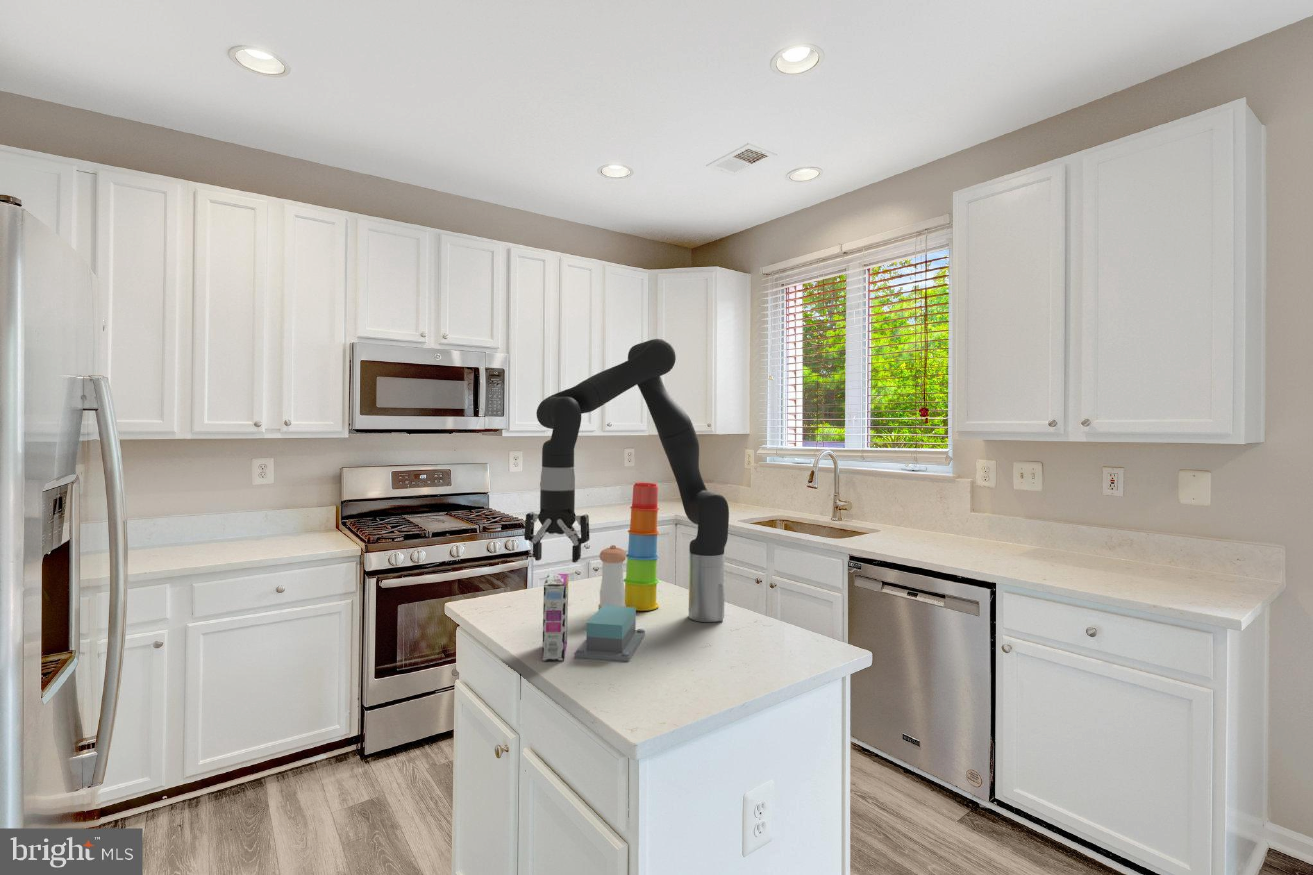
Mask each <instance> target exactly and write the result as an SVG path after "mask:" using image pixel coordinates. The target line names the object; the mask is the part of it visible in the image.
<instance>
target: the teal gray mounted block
mask: <svg viewBox="0 0 1313 875" xmlns="http://www.w3.org/2000/svg"><path fill="white" fill-rule="evenodd" d="M636 616H637V613H636V608H635V607H619V606H602V607H601V608H600V609H599V611H598V610H597V612H595V613H594V614H593V615H592V617H591V618H589V620H588V621H587V622H586V630H585V631H586V638H585V640H584V642H582V644H580V646H579V647H578V648H577V649H576V651H575V652H574V658H580V659H590V660H605V661H616V662H630V661H631V659H632V658H633V656H634V654H635V652H636V650H637V649H638V647H639V646H640V644H641V643H642V641H643V640H644V637H645V636H646V630H645V629H643V628H636V627H637V626H636V624H637V623H636V620H637V618H636Z"/></svg>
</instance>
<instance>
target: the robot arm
mask: <svg viewBox="0 0 1313 875" xmlns="http://www.w3.org/2000/svg"><path fill="white" fill-rule="evenodd" d="M676 356H677V355H676V352H675V348H674V347H673V346H672V344H671V343H670V342H669V341H668V340H665V339H663V338H653V339H650V340H647V341H643V342H640V343H636V344H635V345H633V346H632V347H630V348H629V350H628V354H627V360H626V361H624V362H621V363H619V364H617V365H615V366H613V367H610V368H607V369H604V370H602V371H600V372H598V373H596V374H594V375H592V376H590V377H588V378H586V379H584V380H583V381H581V382H579V383H578V384H576V385H574V386H573V387H570V388H569V387H568V388H566V389H564V390H561V391H559V392H556V393H554V394H551V395H549V396H548V397H546V398H544V399H543V400H542V401H541V402H540V403H539V404H538V407H537V408H536V419H537V421H538V423H539V424H540V425H541V426H542V427H544V428H546V429H549V430H552V431H551V432H552V433H551V435H550V436H551V437H550V439H549V440H546V441H545V442H543V443H542V444H543V445H542V448H541V449H542V450H541V471H540V482H539V488H540V489H539V494H540V495H539V500H540V501H539V509H540V510H539V513H535V512H533V511H531V512H528V513H526V514H525V521H524V522H525V525H524V540H525V541H528V542H531V543H532V558H533V559H534V560H535V561H536V562H538V561H541V560H542V552H543V551H542V550H543V549H542V546H543V545H542V544H543V542H541V541H542V539H544V537H545V536H546V534H547V535H548V534H550V535H553V534H557V535H564V534H565V535H566V537H567V538H568V539H569V540H570V541H571V542H572V549H571V551H572V553H571V557H572V558H571V559H572V560H571V563H577V562H579V560H580V559H581V556H582V544H585V543H587V542H589V541H590V520H589V518H590V515H588V514H583V515H577V514H576V512H575V504H576V502H575V500H576V498H575V497H576V496H575V495H576V492H575V491H576V475H575V448H576V444H577V440H578V436H579V432H580V428H581V425H582V423H581V422H582V414H589V413H591V412H594V411H596V410H597V409H599V408H600V407H603V405H605V404H607V403H609V402H610V401H612V400H613V399H615V398H617V397H618V396H620V395H621V394H623V393H625V392H627V391H628V390H631V388H633V387H635V386H637V387H638V390H639V391H640V393H641V396H642V397H643V399H644V401H645V404H646V406H647V409H648V411H649V413H650V416H651V418H652V420H653V423H654V426H655V428H656V431H657V435H658V437H659V440H660V443H661V446H662V448H663V450H664V453H665V456H666V457H667V460H668V462H669V466H670V468H671V471H672V473H673V476H674V478H675V481H676V484H677V487H678V492H679V495H680V500H681V502H682V506H683V510H684V512H685V516H686V517H687V519H688V520H689V521H690V522H691V523H693V524H694V525H696V526H697V533H696V534H697V535H696V537H695V538H694V539H692V540H691V541H690V542H689V546H688V547H689V549H688V550H689V552H688V553H689V554H688V555H689V556H688V562H689V564H688V566H689V567H688V568H689V569H688V618H689V619H690V620H693V621H695V622H701V623H716V622H723V621H724V619H725V596H726V594H725V592H726V591H725V590H726V589H725V588H726V587H725V586H726V585H725V584H726V582H725V580H726V579H725V550H726V549H725V547H726V545H727V543H728V538H729V525H730V524H729V521H730V510H729V504H728V501H727V499H726V498H725V496H723V495H722V494H721V493H717V492H712V491H708V489H707V487H706V485H705V482H704V480H703V478H702V475H701V472H700V464H699V462H700V443H699V439H698V436H697V433H696V430H695V427H694V424H693V422H692V420H691V418H690V417H689V415H688V413H686V411H685V410H684V409H683V407H681V406H680V404H678V403H677V401H675V400H674V398H673V397H672V396H671V395H670V394H669V392H668V391H667V389H666V386H665V385H664V382H663V380H662V377H663V375H666V374H668V373H669V372H670V371H671V370H673V368H674V367H675V364H676V358H677V357H676ZM661 376H662V377H661ZM537 521H539V522H540V524H541V527H540V528H539V529H538V530H537V532H536V533H535V523H537ZM576 522H577V524H578V525H579V526H580V535H579V534H578V532H577V530H576V528H575V527H574V526H573V525H574V524H575V523H576ZM534 533H535V535H534Z"/></svg>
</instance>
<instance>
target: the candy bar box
mask: <svg viewBox="0 0 1313 875" xmlns="http://www.w3.org/2000/svg"><path fill="white" fill-rule="evenodd" d="M542 606H543V612H542V614H543V615H542V616H543V617H542V654H541V656H542V658H541V661H542V662H563V661H565V657H566V653H567V652H566V651H567V646H568V620H569V618H568V617H569V616H568V615H569V614H568V610H569V608H568V607H569V573H548V575H547V576H546V578H545V581H544V583H543V605H542Z"/></svg>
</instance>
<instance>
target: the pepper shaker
mask: <svg viewBox="0 0 1313 875" xmlns="http://www.w3.org/2000/svg"><path fill="white" fill-rule="evenodd" d="M599 559H600V561H602V564H601V565H602V569H601V570H602V571H601V572H602V573H601V583H600V590H599V604H598V610H597V612H598V611H599V609H600V608H601V607H602V606H619V607H626V604H625V582H624V562H625V560H627V557H626V552H625V550H624V549H622V548H619V547H617V546H616V545H614V544H612V545H610V546H609V547H607V548H604V549H602V550H601V551H600V553H599Z"/></svg>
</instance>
